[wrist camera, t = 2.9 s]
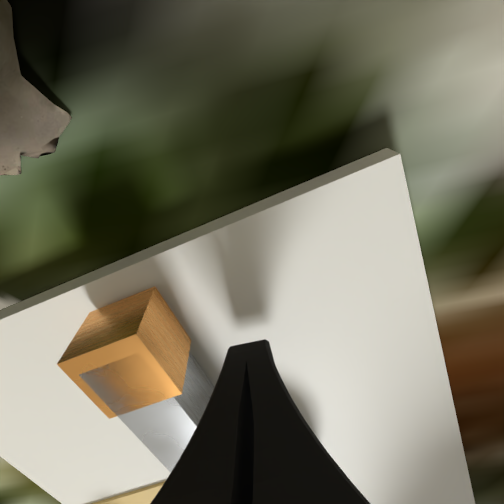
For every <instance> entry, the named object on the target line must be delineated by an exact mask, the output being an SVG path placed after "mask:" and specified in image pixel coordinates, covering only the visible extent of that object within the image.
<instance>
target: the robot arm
mask: <svg viewBox="0 0 504 504" xmlns="http://www.w3.org/2000/svg"><path fill="white" fill-rule="evenodd" d="M150 504H370V502H369V501H368V500H367V499H366V498H365V497H364V496H363V494H362V493H361V492H360V491H359V490H358V489H357V488H356V486H355V485H354V484H353V483H352V482H351V481H350V479H349V478H348V477H347V476H346V474H345V473H344V472H343V471H342V469H341V468H340V467H339V466H338V464H337V463H336V462H335V461H334V459H333V458H332V457H331V456H330V454H329V453H328V452H327V450H326V449H325V448H324V446H323V445H322V444H321V442H320V441H319V439H318V438H317V437H316V435H315V434H314V432H313V431H312V429H311V428H310V427H309V425H308V424H307V422H306V421H305V419H304V417H303V416H302V414H301V413H300V411H299V409H298V408H297V406H296V404H295V403H294V401H293V399H292V398H291V396H290V394H289V392H288V390H287V388H286V386H285V384H284V383H283V381H282V379H281V377H280V374H279V372H278V370H277V368H276V365H275V362H274V358H273V355H272V351H271V347H270V343H269V341H267V340H266V339H264V340H259V341H254V342H249V343H244V344H239V345H235V346H230V347H229V349H228V351H227V354H226V357H225V360H224V364H223V366H222V369H221V372H220V375H219V377H218V380H217V383H216V385H215V388H214V390H213V392H212V395H211V397H210V400H209V402H208V404H207V406H206V409H205V411H204V413H203V415H202V417H201V419H200V421H199V423H198V425H197V427H196V429H195V431H194V433H193V435H192V437H191V439H190V441H189V443H188V444H187V446H186V448H185V450H184V452H183V453H182V455H181V457H180V459H179V460H178V462H177V463H176V465H175V467H174V468H173V470H172V471H171V473H170V475H169V476H168V478H167V479H166V481H165V483H164V484H163V486H162V487H161V489H160V490H159V492H158V493H157V495H156V496H155V498H154V499H153V500H152V502H151V503H150Z"/></svg>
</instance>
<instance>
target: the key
mask: <svg viewBox="0 0 504 504" xmlns="http://www.w3.org/2000/svg"><path fill="white" fill-rule="evenodd" d="M190 345H191V339H190V337H189V336H188V334H187V333H186V331H185V330H184V328H183V327H182V325H181V324H180V322H179V321H178V319H177V318H176V317H175V315H174V314H173V312H172V311H171V309H170V308H169V306H168V305H167V303H166V302H165V300H164V299H163V297H162V296H161V294H160V293H159V291H158V290H157V288H156V287H155V286H154V287H152V288H149V289H147V290H144V291H142V292H139V293H137V294H134V295H132V296H129V297H127V298H124V299H122V300H119V301H117V302H114V303H112V304H109V305H107V306H104V307H102V308H99V309H97V310H94V311H92V312H89V314H88V316H87V317H86V319H85V320H84V322H83V323H82V325H81V327H80V328H79V330H78V331H77V333H76V335H75V336H74V338H73V339H72V341H71V342H70V344H69V346H68V347H67V349H66V350H65V352H64V353H63V355H62V357H61V358H60V360H59V361H58V363H57V365H58V366H59V367H60V368H61V369H62V370H63V371H64V372H65V373H66V375H67V376H68V377H69V378H70V379H71V380H72V381H73V382H74V383H75V384H76V385H77V386H78V387H79V388H80V389H81V390H82V391H83V392H84V393H85V394H86V395H87V396H88V397H89V398H90V399H91V400H92V402H93V403H94V404H95V405H96V406H97V407H98V408H99V409H100V410H101V411H102V412H103V413H104V414H105V415H106V416H107V417H108V418H109V419H110V418H113V417H116V416H118V417H119V418H120V419H121V421H122V422H123V423H124V424H125V425H126V426H127V427H128V428H129V429H130V430H131V431H132V432H133V433H134V434H135V435H136V436H137V438H138V439H139V440H140V441H141V442H142V443H143V444H144V445H145V446H146V447H147V448H148V449H149V450H150V451H151V452H152V454H153V455H154V456H155V457H156V458H157V459H158V460H159V461H160V462H161V463H162V464H163V465H164V466H165V467H166V468H167V469H168V471H169V472H170V473H171V471H172V470H173V468H174V467H175V465H176V463H177V462H178V460H179V459H180V457H181V455H182V453H183V452H184V450H185V448H186V446H187V444H188V443H189V441H190V439H191V437H192V435H193V433H194V431H195V429H196V427H197V425H198V423H199V421H200V419H201V417H202V415H203V413H204V411H205V409H206V406H207V404H208V402H209V400H210V397H211V395H212V392H213V390H214V388H215V387H214V385H213V384H212V382H211V381H210V380H209V378H208V377H207V375H206V374H205V372H204V371H203V369H202V368H201V366H200V365H199V364H198V362H197V361H196V359H195V358H194V356H193V355H192V353H191V352H190Z"/></svg>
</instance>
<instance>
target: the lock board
mask: <svg viewBox="0 0 504 504" xmlns="http://www.w3.org/2000/svg"><path fill="white" fill-rule="evenodd" d="M154 286H155V287H156V288H157V290H158V291H159V293H160V294H161V296H162V297H163V299H164V300H165V302H166V303H167V305H168V306H169V308H170V309H171V311H172V312H173V314H174V315H175V317H176V318H177V319H178V321H179V322H180V324H181V325H182V327H183V328H184V330H185V331H186V333H187V334H188V336H189V337H190V339H191V345H190V352H191V353H192V355H193V356H194V358H195V359H196V361H197V362H198V364H199V365H200V366H201V368H202V369H203V371H204V372H205V374H206V375H207V377H208V378H209V380H210V381H211V382H212V384H213V385H214V387H215V385H216V383H217V380H218V377H219V375H220V372H221V369H222V366H223V364H224V360H225V357H226V354H227V351H228V349H229V347H230V346H235V345H239V344H244V343H249V342H254V341H259V340H264V339H266V340H267V341H269V343H270V347H271V351H272V355H273V358H274V362H275V365H276V368H277V370H278V372H279V374H280V377H281V379H282V381H283V383H284V384H285V386H286V388H287V390H288V392H289V394H290V396H291V398H292V399H293V401H294V403H295V404H296V406H297V408H298V409H299V411H300V413H301V414H302V416H303V417H304V419H305V421H306V422H307V424H308V425H309V427H310V428H311V429H312V431H313V432H314V434H315V435H316V437H317V438H318V439H319V441H320V442H321V444H322V445H323V446H324V448H325V449H326V450H327V452H328V453H329V454H330V456H331V457H332V458H333V459H334V461H335V462H336V463H337V464H338V466H339V467H340V468H341V469H342V471H343V472H344V473H345V474H346V476H347V477H348V478H349V479H350V481H351V482H352V483H353V484H354V485H355V486H356V488H357V489H358V490H359V491H360V492H361V493H362V494H363V496H364V497H365V498H366V499H367V500H368V501H369V502H370V504H475V500H474V496H473V491H472V486H471V482H470V477H469V472H468V468H467V463H466V458H465V454H464V449H463V445H462V440H461V435H460V431H459V426H458V421H457V417H456V412H455V407H454V403H453V398H452V393H451V389H450V384H449V379H448V375H447V370H446V365H445V361H444V356H443V351H442V347H441V342H440V337H439V333H438V328H437V323H436V319H435V314H434V309H433V305H432V300H431V295H430V291H429V286H428V281H427V277H426V272H425V267H424V263H423V258H422V253H421V249H420V244H419V239H418V235H417V230H416V225H415V221H414V216H413V211H412V207H411V202H410V197H409V193H408V188H407V183H406V179H405V174H404V169H403V165H402V160H401V155H400V153H397V152H395V151H393V150H391V149H389V148H385V149H382V150H380V151H378V152H375V153H373V154H371V155H368V156H366V157H363V158H361V159H359V160H356V161H354V162H352V163H349V164H347V165H344V166H342V167H340V168H337V169H335V170H333V171H330V172H328V173H325V174H323V175H321V176H318V177H316V178H313V179H311V180H309V181H306V182H304V183H302V184H299V185H297V186H294V187H292V188H290V189H287V190H285V191H283V192H280V193H278V194H275V195H273V196H271V197H268V198H266V199H264V200H261V201H259V202H256V203H254V204H252V205H249V206H247V207H244V208H242V209H240V210H237V211H235V212H233V213H230V214H228V215H225V216H223V217H221V218H218V219H216V220H214V221H211V222H209V223H206V224H204V225H202V226H199V227H197V228H194V229H192V230H190V231H187V232H185V233H183V234H180V235H178V236H175V237H173V238H171V239H168V240H166V241H164V242H161V243H159V244H156V245H154V246H152V247H149V248H147V249H145V250H142V251H140V252H137V253H135V254H133V255H130V256H128V257H125V258H123V259H121V260H118V261H116V262H114V263H111V264H109V265H106V266H104V267H102V268H99V269H97V270H95V271H92V272H90V273H87V274H85V275H83V276H80V277H78V278H76V279H73V280H71V281H68V282H66V283H64V284H61V285H59V286H56V287H54V288H52V289H49V290H47V291H45V292H42V293H40V294H37V295H35V296H33V297H30V298H28V299H26V300H23V301H21V302H18V303H16V304H14V305H11V306H9V307H7V308H4V309H2V310H0V456H1V457H2V458H3V459H5V460H6V461H7V462H8V463H10V464H11V465H12V466H14V467H15V468H16V469H18V470H19V471H20V472H21V473H23V474H24V475H25V476H27V477H28V478H29V479H31V480H32V481H33V482H34V483H36V484H37V485H38V486H40V487H41V488H42V489H44V490H45V491H46V492H48V493H49V494H50V495H51V496H53V497H54V498H55V499H57V500H58V501H59V502H61V503H62V504H150V503H151V502H152V500H153V499H154V498H155V496H156V495H157V493H158V492H159V490H160V489H161V487H162V486H163V484H164V483H165V481H166V479H167V478H168V476H169V475H170V472H169V471H168V469H167V468H166V467H165V466H164V465H163V464H162V463H161V462H160V461H159V460H158V459H157V458H156V457H155V456H154V455H153V454H152V452H151V451H150V450H149V449H148V448H147V447H146V446H145V445H144V444H143V443H142V442H141V441H140V440H139V439H138V438H137V436H136V435H135V434H134V433H133V432H132V431H131V430H130V429H129V428H128V427H127V426H126V425H125V424H124V423H123V422H122V421H121V419H120V418H119V417H118V416H116V417H113V418H110V419H109V418H108V417H107V416H106V415H105V414H104V413H103V412H102V411H101V410H100V409H99V408H98V407H97V406H96V405H95V404H94V403H93V402H92V400H91V399H90V398H89V397H88V396H87V395H86V394H85V393H84V392H83V391H82V390H81V389H80V388H79V387H78V386H77V385H76V384H75V383H74V382H73V381H72V380H71V379H70V378H69V377H68V376H67V375H66V373H65V372H64V371H63V370H62V369H61V368H60V367H59V366H58V365H57V363H58V361H59V360H60V358H61V357H62V355H63V353H64V352H65V350H66V349H67V347H68V346H69V344H70V342H71V341H72V339H73V338H74V336H75V335H76V333H77V331H78V330H79V328H80V327H81V325H82V323H83V322H84V320H85V319H86V317H87V316H88V314H89V312H92V311H94V310H97V309H99V308H102V307H104V306H107V305H109V304H112V303H114V302H117V301H119V300H122V299H124V298H127V297H129V296H132V295H134V294H137V293H139V292H142V291H144V290H147V289H149V288H152V287H154Z"/></svg>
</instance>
